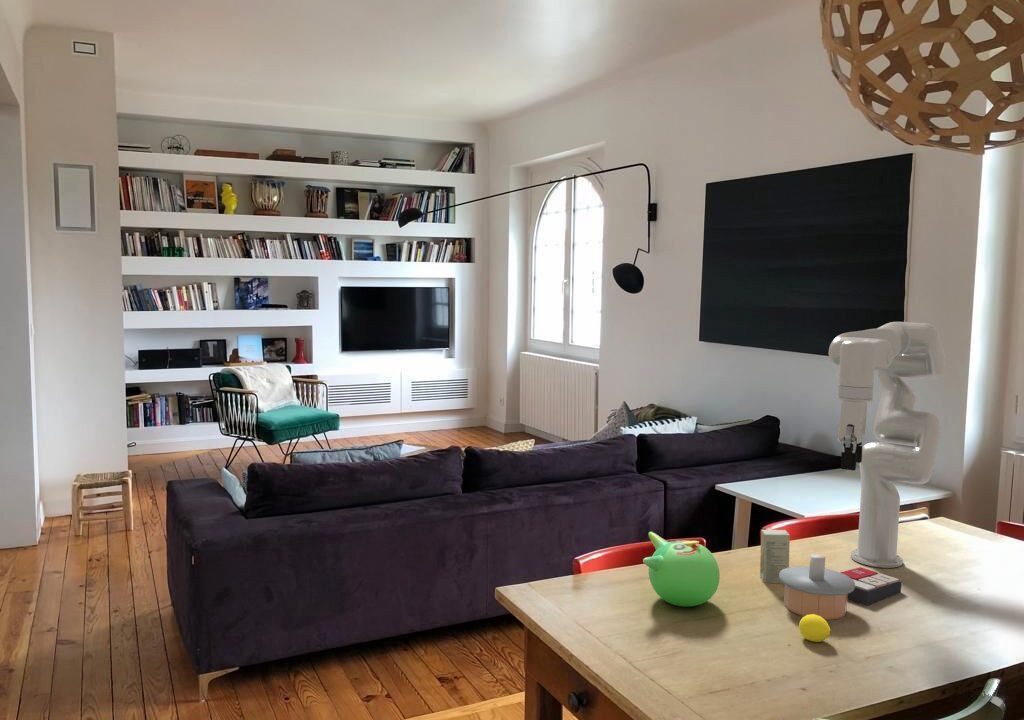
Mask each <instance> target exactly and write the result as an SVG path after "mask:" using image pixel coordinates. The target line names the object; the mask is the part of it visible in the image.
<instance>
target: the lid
mask: <svg viewBox="0 0 1024 720" xmlns="http://www.w3.org/2000/svg"><path fill="white" fill-rule="evenodd" d="M779 580H780V581H781V582H782V583H781V584H783V585H786V586H788V587H790V588H793V589H795V590H798V591H802V592H806V593H811V594H817V595H830V596H833V595H844V594H848V593H851V592H852V591H854V589H855V582H854V581H853V580H852V579H851V578H850V577H848V576H846V575H844V574H842V573H840V572H839V571H835V570H832V569H828V568H826V557H825V556H824V555H821V554H811V555H809V566H808V565H807V566H804V565H801V566H789V568H785V569H783V570H781V571H780V573H779Z"/></svg>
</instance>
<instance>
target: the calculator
mask: <svg viewBox="0 0 1024 720" xmlns="http://www.w3.org/2000/svg"><path fill="white" fill-rule="evenodd" d="M839 573H842V574H844V575H846V576H848V577H850V578H851V579H852V580H853V581H854V582H855V589H854V591H852V592H851V593H848V600H847V601H849V602H853V603H856V604H858V605H862V606H865V607H867V606H871V605H873V604H876V603H877V602H879V601H881V600H884V599H888V598H891V597H894V596H896V595H898V594H901V593H902V592H901V591H902V583H903V582H902V581H900V579H899V578H896V577H893V576H889V575H887V574H884V573H879V572H878V571H874V570H871V569H868V568H864V567H856V568H852V569H847V570H844V571H840V572H839Z"/></svg>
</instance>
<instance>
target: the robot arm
mask: <svg viewBox="0 0 1024 720" xmlns="http://www.w3.org/2000/svg"><path fill="white" fill-rule="evenodd" d="M828 358H829V361H830V363H831V365H833V367H837V368H839V370H838V371H839V373H838V385H837V386H838V388H837V399H838V400H840V401H841V405H840V409H839V418H838V432H837V441H838V442H839V443H841V442H843V443H842V448H841V453H840V469H841V470H846V471H847V470H848V471H856V470H857V464H859V471H860V503H859V504H860V505H859V520H858V535H857V536H858V537H857V549H854V550H852V551H851V552H850V558H851V559H852V560H853V561H855V562H856V563H859V564H863V565H866V566H869V567H874V568H883V569H889V568H890V569H891V568H898V567H901V566H902V565H903V564H904V563H903V561H904V560H903V557H901V555H898V554H897V553H898V541H899V539H898V536H899V522H900V521H899V519H900V508H901V507H900V506H901V497H900V494H899V491H898V490H897V488H896V486H895V484H894V483H893V482H901V483H907V484H914V485H924V484H926V483H928V482H929V481H930V480H931V477H932V473H933V472H934V471H933V470H934V466H935V460H936V457H937V452H938V447H939V442H940V437H941V422H940V420H939V417H938V416H937V415H936V414H934V413H932V412H929V411H923V410H915V409H914V408H915V404H916V396H915V392H913V390H912V389H911V387H910V386H909V385H908V384H907V382H906V381H904V380H903V378H912V379H924V380H925V379H927V380H936V379H939V378H941V377H942V376H943V374H944V373H945V371H946V367H947V357H946V353H945V349H944V345H943V341H942V337H941V335H940V333H939V331H938V329H937V328H936V326H935V325H933V324H931V323H929V322H913V321H911V322H910V321H892V322H891V321H890V322H888V323H885V324H883V325H881V326H879V327H877V328H869V329H864V330H857V331H848V332H844V333H841V334H839V335H837V336H836V337H835V338H833V340H832V341H831V343H830V344H829V348H828ZM875 371H876V374H877V379H878V384H879V387H880V393H881V395H880V400H879V403H878V407H877V410H876V416H875V419H874V423H873V435H874V437H875V439H877V440H878V441H872V442H868V443H865V444H864V445H863V440H864V439H865V435H866V428H867V427H866V425H867V412H868V411H867V410H868V403H869V402H873V400H874V399H873V398H874V383H875V382H874V381H875Z"/></svg>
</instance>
